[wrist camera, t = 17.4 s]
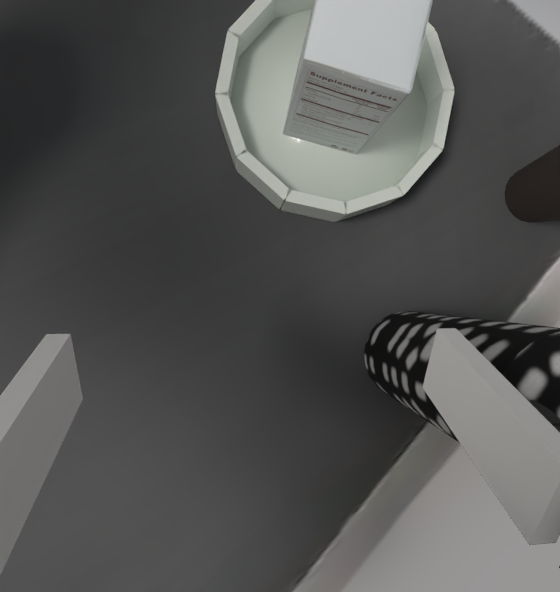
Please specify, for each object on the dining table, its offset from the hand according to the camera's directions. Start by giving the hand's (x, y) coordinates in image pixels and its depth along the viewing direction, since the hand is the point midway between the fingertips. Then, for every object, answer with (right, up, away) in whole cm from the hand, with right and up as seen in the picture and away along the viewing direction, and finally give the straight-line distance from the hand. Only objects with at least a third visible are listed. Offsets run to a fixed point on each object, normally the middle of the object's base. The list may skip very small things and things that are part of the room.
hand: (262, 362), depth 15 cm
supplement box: (+5, +20, +23) cm, 31 cm away
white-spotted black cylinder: (+13, -3, +25) cm, 28 cm away
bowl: (+5, +20, +24) cm, 31 cm away
